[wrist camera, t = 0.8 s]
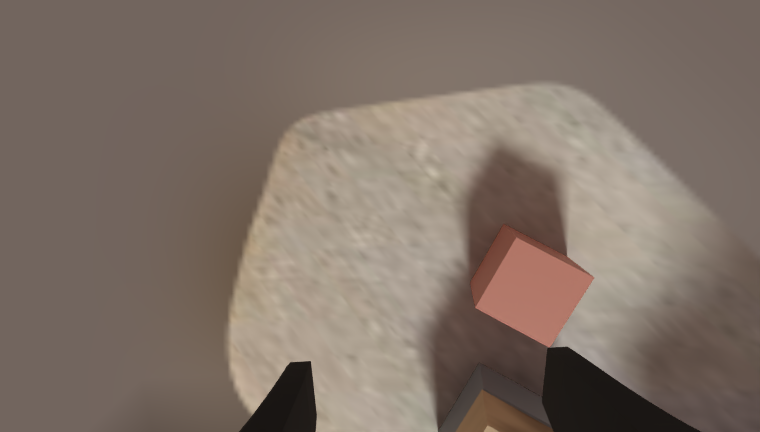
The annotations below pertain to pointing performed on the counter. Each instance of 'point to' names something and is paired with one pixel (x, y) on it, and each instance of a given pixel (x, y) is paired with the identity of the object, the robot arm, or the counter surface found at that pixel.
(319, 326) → the counter surface
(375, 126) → the counter surface
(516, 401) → the tower base
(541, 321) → the red block
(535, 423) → the tower middle
